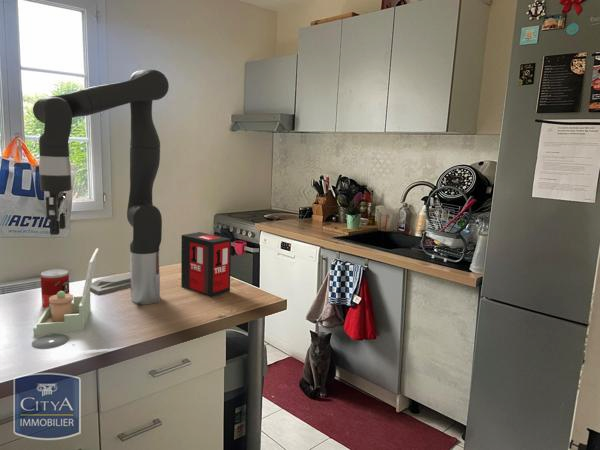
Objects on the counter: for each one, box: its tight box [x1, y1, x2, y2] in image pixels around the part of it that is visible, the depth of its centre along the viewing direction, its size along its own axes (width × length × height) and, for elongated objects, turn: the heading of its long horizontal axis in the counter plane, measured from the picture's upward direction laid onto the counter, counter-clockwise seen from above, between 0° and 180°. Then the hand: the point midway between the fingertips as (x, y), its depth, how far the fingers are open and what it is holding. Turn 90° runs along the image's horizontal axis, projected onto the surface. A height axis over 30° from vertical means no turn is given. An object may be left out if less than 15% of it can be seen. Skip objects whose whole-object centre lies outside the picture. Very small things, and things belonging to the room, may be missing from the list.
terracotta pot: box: [49, 291, 74, 322], centre depth 126 cm, size 6×6×9 cm
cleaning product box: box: [180, 231, 232, 298], centre depth 161 cm, size 16×9×20 cm, turn 54°
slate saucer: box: [31, 333, 70, 350], centre depth 114 cm, size 8×8×1 cm
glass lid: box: [81, 248, 99, 304], centre depth 127 cm, size 12×16×1 cm
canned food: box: [40, 268, 70, 309], centre depth 139 cm, size 8×8×11 cm
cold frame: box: [33, 289, 92, 336], centre depth 126 cm, size 12×16×8 cm
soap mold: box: [90, 273, 131, 296], centre depth 162 cm, size 10×20×4 cm, turn 143°
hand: (58, 231), depth 122 cm, fingers open, 8 cm apart
